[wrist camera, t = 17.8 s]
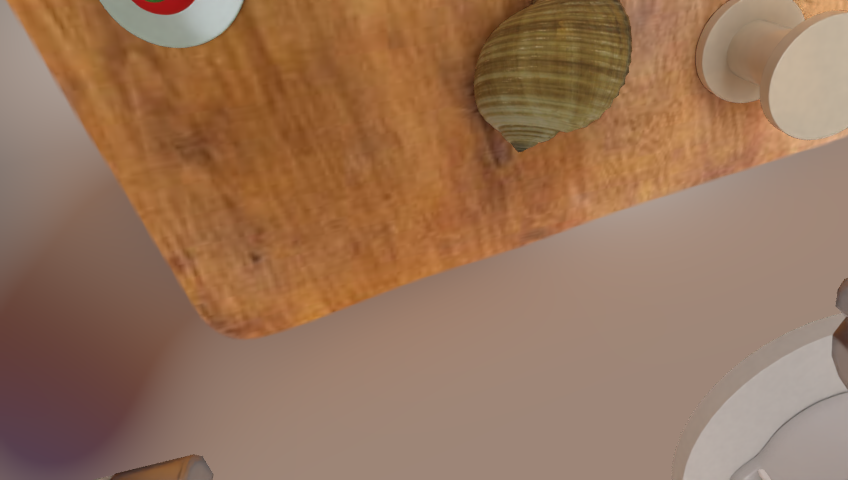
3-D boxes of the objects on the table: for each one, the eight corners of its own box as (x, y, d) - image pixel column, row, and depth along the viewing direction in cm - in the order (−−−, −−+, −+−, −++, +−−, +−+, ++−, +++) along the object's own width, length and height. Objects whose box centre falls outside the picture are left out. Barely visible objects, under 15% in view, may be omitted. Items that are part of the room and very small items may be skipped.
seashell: (540, -33, 38) (485, -72, 31) (667, -14, 35) (637, -52, 28) (499, 136, 41) (439, 136, 34) (614, 167, 38) (574, 174, 31)
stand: (794, 84, 39) (883, 122, 33) (696, 110, 39) (766, 153, 33) (801, -23, 36) (899, -2, 30) (694, 5, 36) (771, 31, 30)
